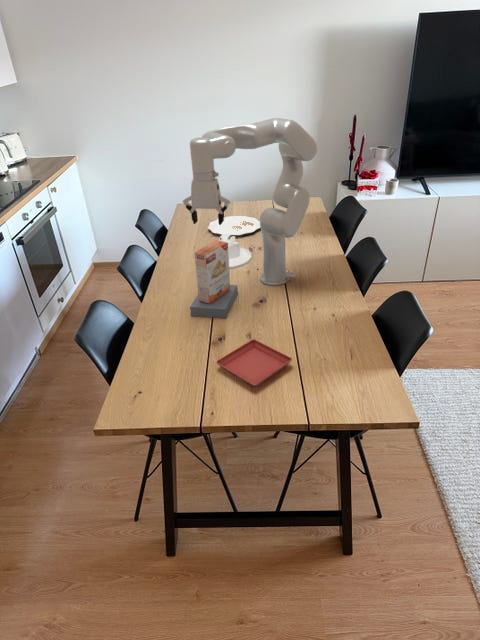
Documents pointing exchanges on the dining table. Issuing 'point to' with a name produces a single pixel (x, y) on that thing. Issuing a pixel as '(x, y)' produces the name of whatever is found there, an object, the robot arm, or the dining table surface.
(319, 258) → the dining table surface
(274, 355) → the plant saucer
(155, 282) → the dining table surface
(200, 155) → the robot arm
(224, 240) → the dish
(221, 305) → the base block
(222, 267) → the cracker box
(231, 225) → the plate
